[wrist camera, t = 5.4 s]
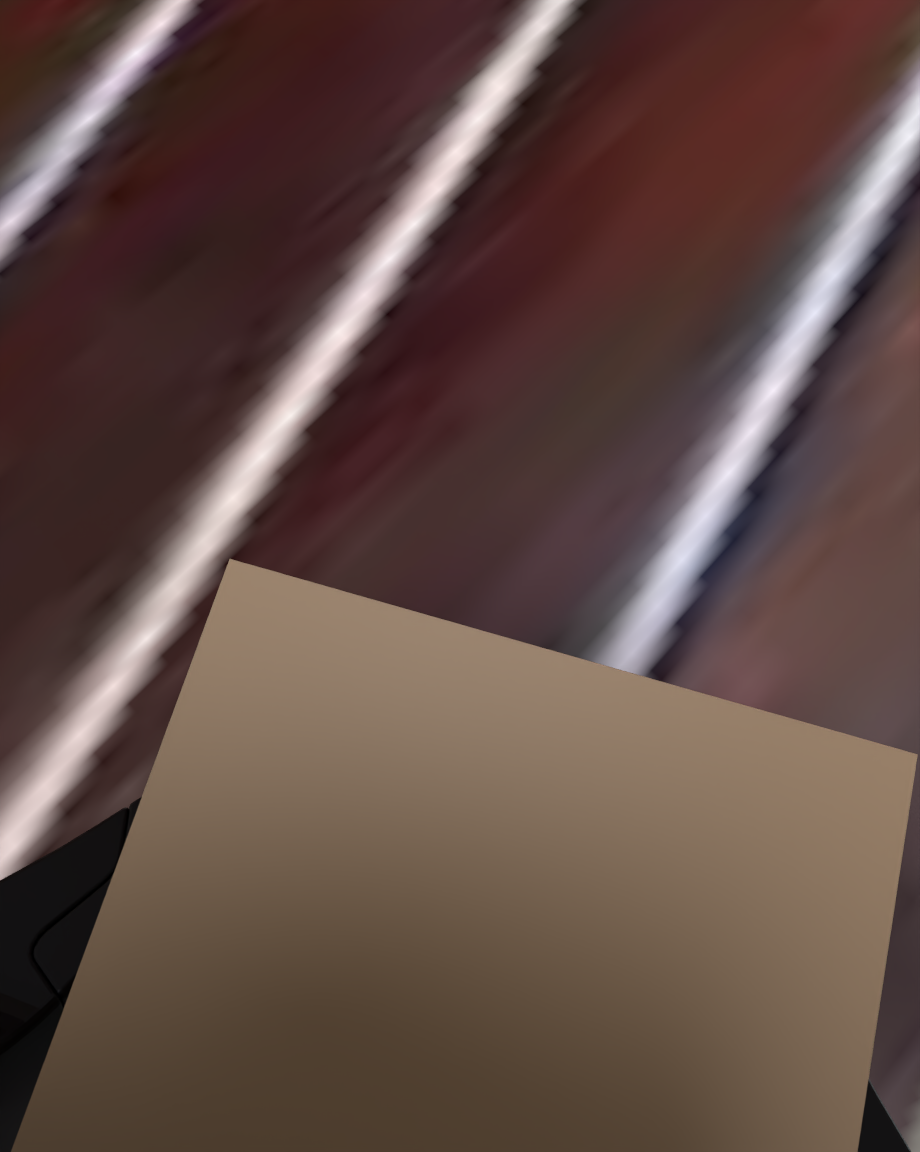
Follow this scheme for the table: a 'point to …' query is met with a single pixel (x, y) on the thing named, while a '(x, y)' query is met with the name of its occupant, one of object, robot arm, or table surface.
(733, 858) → the tan block
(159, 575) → the table surface
